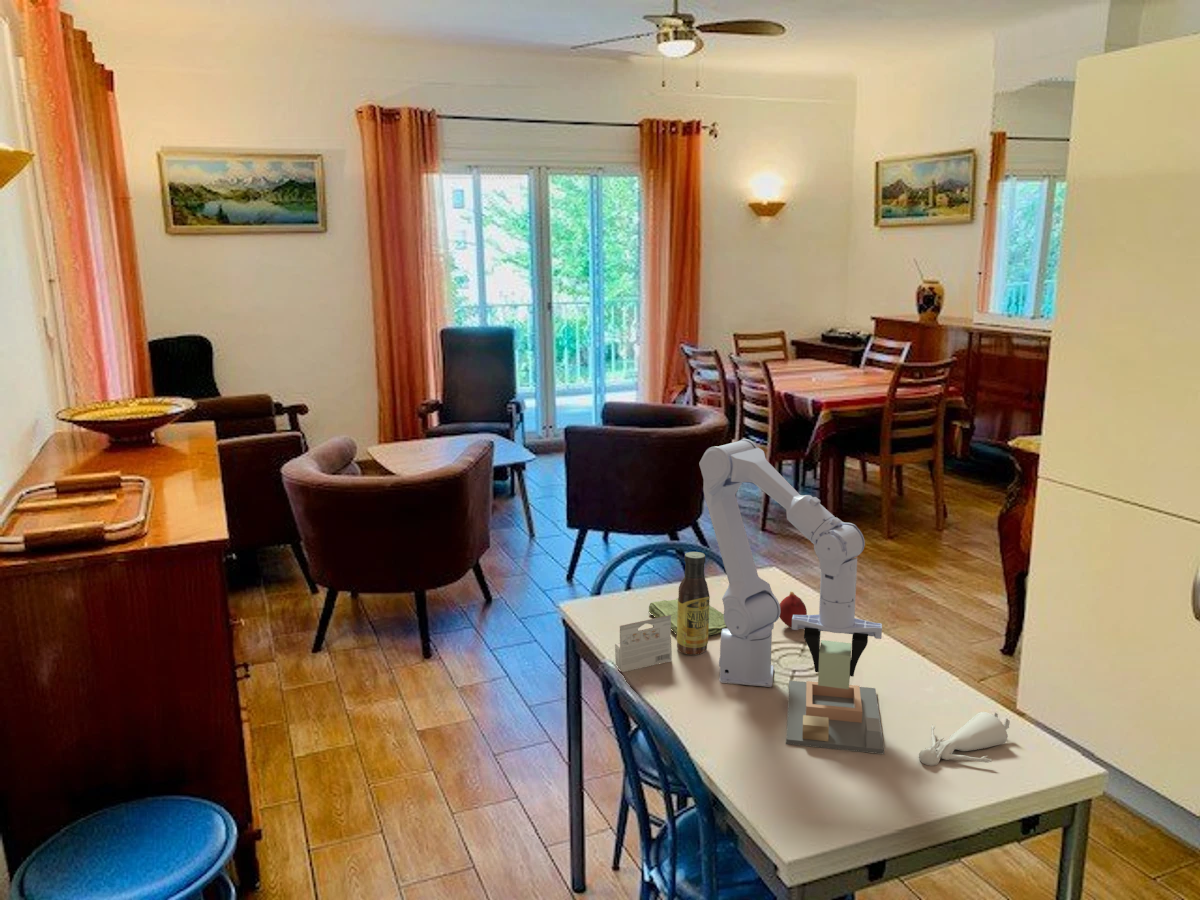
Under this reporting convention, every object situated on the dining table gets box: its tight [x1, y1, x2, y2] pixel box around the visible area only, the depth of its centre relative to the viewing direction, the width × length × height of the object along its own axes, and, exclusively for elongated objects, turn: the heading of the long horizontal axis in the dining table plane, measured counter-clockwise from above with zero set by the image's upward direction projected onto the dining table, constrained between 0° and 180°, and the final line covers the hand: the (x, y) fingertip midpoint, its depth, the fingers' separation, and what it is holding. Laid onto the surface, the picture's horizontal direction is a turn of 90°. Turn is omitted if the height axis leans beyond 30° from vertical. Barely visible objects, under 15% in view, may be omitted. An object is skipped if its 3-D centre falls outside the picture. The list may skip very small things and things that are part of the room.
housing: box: [785, 680, 885, 755], centre depth 147 cm, size 15×20×4 cm
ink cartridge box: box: [614, 615, 673, 673], centre depth 167 cm, size 2×11×10 cm, turn 113°
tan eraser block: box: [802, 715, 829, 741], centre depth 140 cm, size 4×3×2 cm
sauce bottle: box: [676, 551, 711, 656], centre depth 172 cm, size 7×6×20 cm
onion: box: [779, 590, 808, 629], centre depth 182 cm, size 6×6×8 cm
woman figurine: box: [918, 711, 1011, 766], centre depth 137 cm, size 12×4×18 cm
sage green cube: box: [817, 639, 852, 689], centre depth 148 cm, size 5×5×6 cm
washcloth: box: [648, 597, 727, 637], centre depth 186 cm, size 13×18×3 cm
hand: (834, 671), depth 148 cm, fingers closed on sage green cube, 5 cm apart
